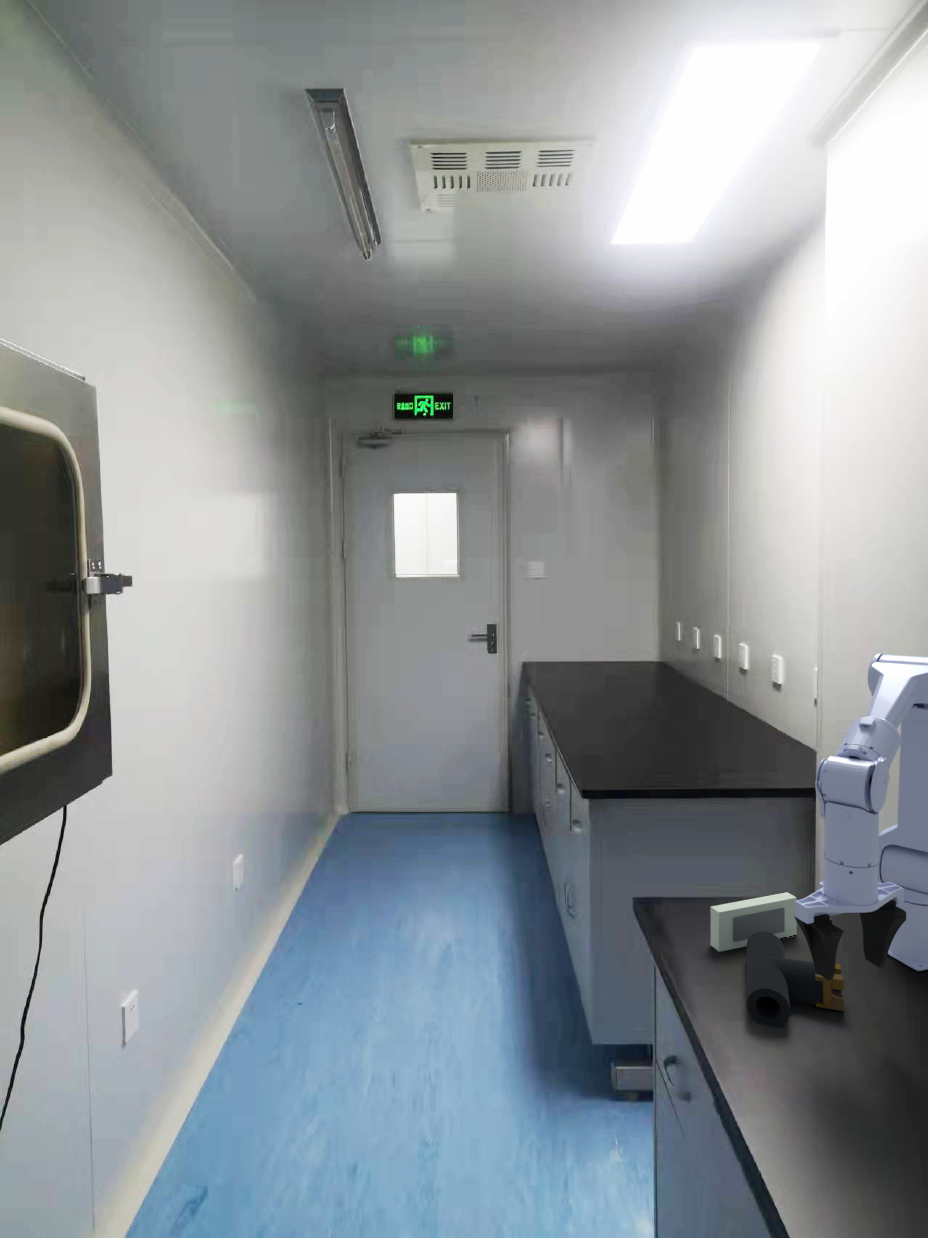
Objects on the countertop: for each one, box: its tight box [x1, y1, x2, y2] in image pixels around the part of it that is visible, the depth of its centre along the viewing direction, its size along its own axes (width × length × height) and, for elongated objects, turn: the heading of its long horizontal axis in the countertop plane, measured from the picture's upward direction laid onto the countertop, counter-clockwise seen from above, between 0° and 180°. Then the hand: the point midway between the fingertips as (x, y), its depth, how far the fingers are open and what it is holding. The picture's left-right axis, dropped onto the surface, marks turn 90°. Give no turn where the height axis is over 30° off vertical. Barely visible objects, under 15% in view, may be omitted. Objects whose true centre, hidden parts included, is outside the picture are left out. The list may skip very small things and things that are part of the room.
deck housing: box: [710, 891, 798, 953], centre depth 110 cm, size 14×2×6 cm, turn 107°
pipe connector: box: [746, 931, 845, 1028], centre depth 96 cm, size 12×5×15 cm
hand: (849, 969), depth 87 cm, fingers open, 7 cm apart
